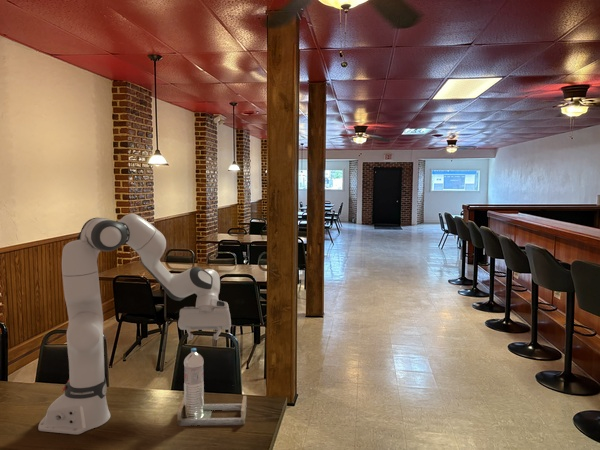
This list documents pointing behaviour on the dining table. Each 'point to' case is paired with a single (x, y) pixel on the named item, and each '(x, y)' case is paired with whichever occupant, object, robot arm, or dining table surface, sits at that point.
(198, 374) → the water bottle
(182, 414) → the wooden rack frame
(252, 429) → the dining table surface
